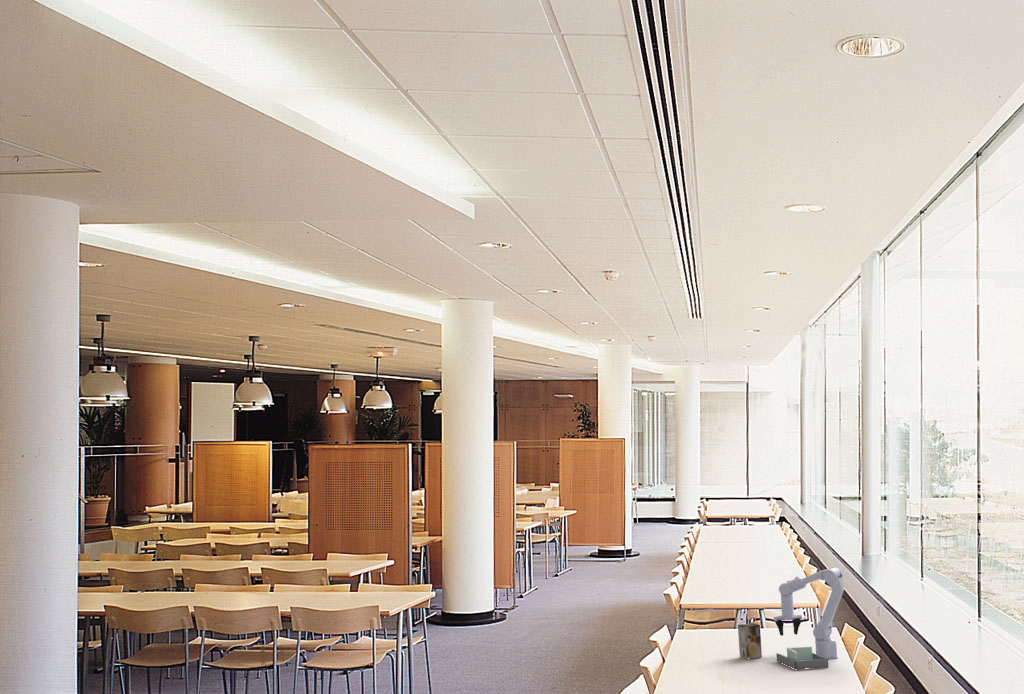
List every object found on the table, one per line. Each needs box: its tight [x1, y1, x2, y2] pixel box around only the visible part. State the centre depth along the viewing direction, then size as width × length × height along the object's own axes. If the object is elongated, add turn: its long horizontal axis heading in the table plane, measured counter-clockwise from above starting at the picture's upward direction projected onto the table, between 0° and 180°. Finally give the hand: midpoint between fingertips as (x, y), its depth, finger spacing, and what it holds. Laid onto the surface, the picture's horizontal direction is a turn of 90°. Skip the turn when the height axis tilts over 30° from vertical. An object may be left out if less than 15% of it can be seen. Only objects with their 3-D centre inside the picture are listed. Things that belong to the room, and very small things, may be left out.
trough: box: [775, 652, 829, 670], centre depth 502 cm, size 17×20×4 cm
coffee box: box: [737, 622, 763, 660], centre depth 522 cm, size 9×6×16 cm
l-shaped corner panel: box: [786, 646, 813, 661], centre depth 501 cm, size 12×12×8 cm
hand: (788, 634), depth 527 cm, fingers open, 7 cm apart
